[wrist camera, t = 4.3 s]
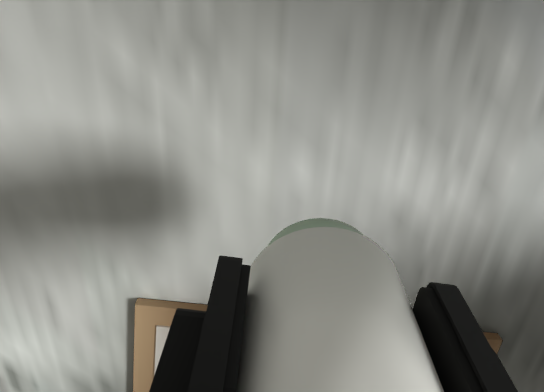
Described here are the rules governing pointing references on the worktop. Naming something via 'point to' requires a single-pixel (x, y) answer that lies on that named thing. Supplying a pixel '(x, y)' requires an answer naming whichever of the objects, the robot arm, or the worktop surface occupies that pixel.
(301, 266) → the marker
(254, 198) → the worktop surface
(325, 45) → the worktop surface
